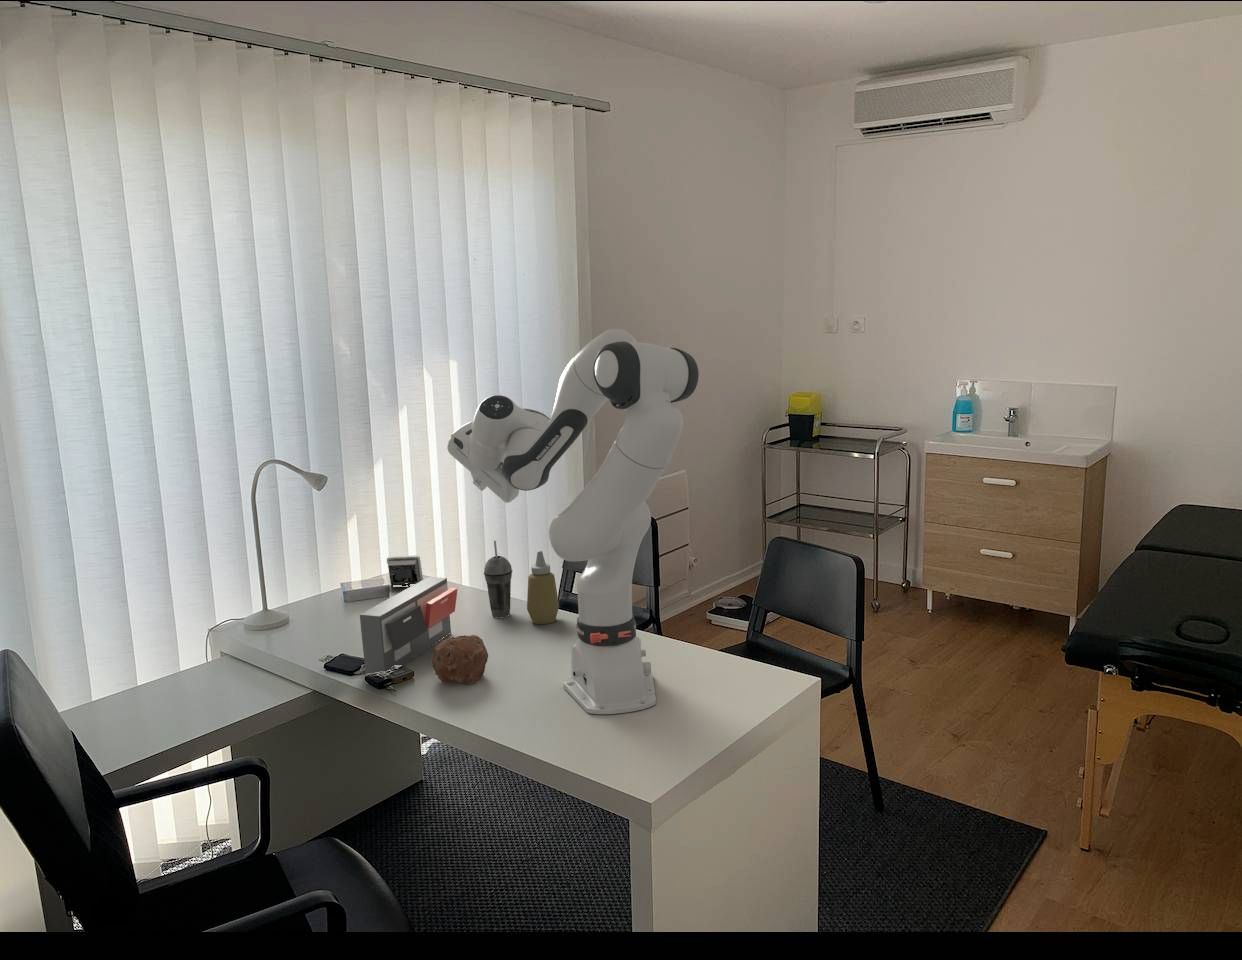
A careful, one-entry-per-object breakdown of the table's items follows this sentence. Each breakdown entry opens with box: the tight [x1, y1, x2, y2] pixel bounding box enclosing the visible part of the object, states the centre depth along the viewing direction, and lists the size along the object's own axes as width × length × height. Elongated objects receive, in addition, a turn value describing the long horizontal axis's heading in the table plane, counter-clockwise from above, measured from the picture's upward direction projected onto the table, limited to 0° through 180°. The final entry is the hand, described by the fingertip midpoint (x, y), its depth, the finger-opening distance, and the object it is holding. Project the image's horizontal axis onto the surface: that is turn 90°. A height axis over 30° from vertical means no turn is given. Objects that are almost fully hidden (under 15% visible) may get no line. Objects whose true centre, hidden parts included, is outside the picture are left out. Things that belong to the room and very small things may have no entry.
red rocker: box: [425, 586, 458, 628], centre depth 217 cm, size 1×12×6 cm, turn 160°
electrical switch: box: [386, 554, 424, 588], centre depth 264 cm, size 9×5×9 cm, turn 92°
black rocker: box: [386, 606, 427, 650], centre depth 204 cm, size 1×12×6 cm, turn 160°
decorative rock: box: [430, 634, 489, 685], centre depth 197 cm, size 13×11×10 cm
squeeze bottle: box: [526, 550, 560, 625], centre depth 230 cm, size 8×8×18 cm
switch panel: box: [359, 576, 452, 674], centre depth 212 cm, size 5×28×14 cm, turn 160°
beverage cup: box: [483, 540, 513, 619], centre depth 236 cm, size 7×7×20 cm
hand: (479, 485), depth 220 cm, fingers closed
